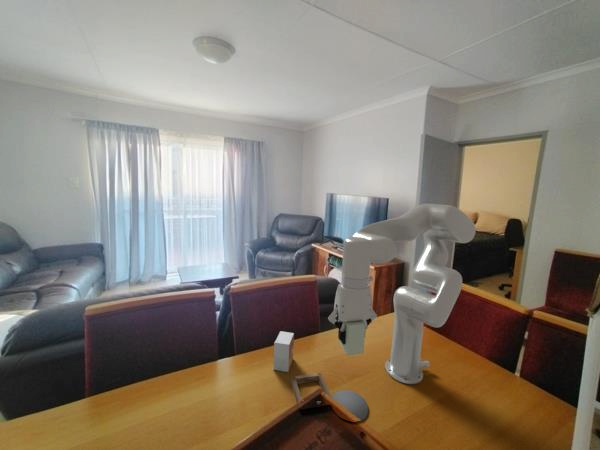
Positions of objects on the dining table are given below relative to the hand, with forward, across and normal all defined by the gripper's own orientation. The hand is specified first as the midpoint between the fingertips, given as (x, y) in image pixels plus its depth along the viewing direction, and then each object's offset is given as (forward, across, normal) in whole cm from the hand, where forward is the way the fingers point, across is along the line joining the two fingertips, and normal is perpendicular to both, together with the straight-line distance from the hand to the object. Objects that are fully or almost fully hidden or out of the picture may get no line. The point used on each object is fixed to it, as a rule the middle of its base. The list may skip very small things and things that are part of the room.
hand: (351, 340), depth 75 cm
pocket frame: (+21, +10, -6) cm, 24 cm away
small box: (+21, +16, -21) cm, 34 cm away
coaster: (+21, 0, +1) cm, 21 cm away
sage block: (+3, 0, 0) cm, 3 cm away
